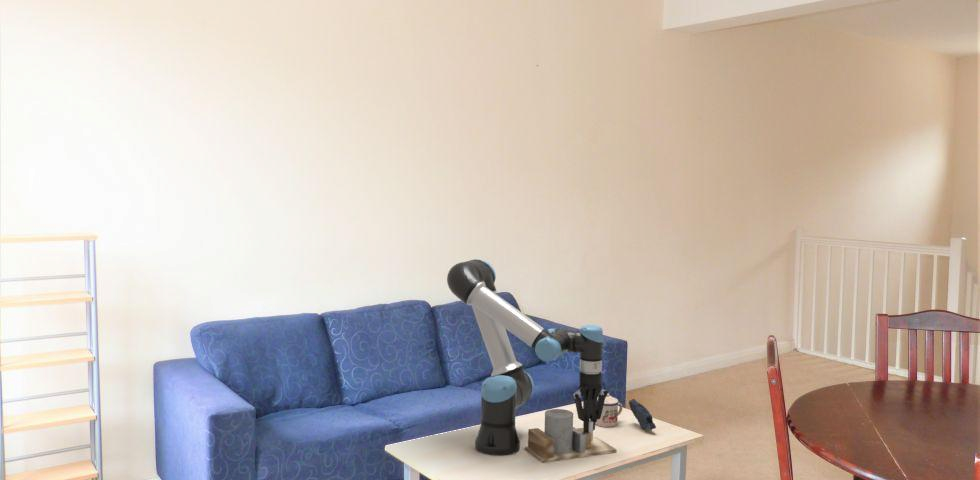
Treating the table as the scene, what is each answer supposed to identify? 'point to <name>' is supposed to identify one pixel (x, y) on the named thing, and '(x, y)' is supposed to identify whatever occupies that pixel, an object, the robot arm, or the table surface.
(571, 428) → the gray cylinder
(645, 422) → the stone
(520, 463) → the table surface
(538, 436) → the press
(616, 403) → the teacup with lid
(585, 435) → the slide jaw
